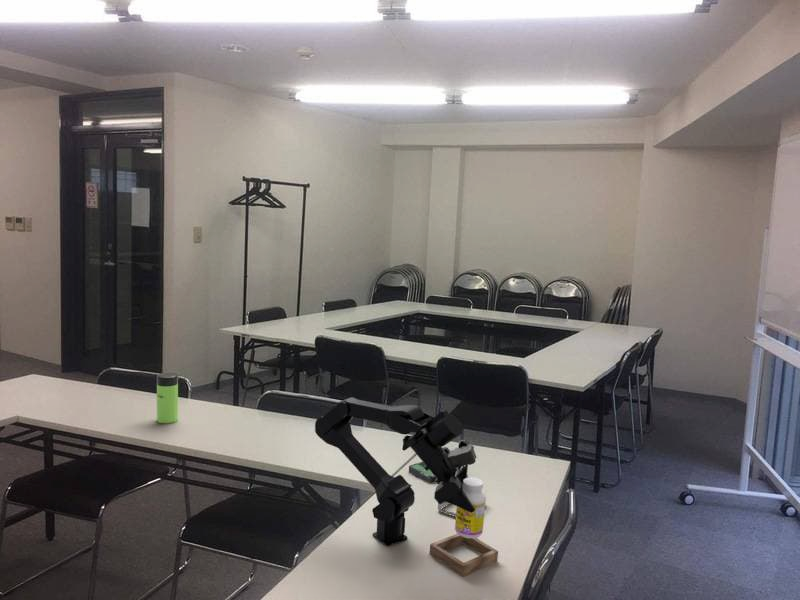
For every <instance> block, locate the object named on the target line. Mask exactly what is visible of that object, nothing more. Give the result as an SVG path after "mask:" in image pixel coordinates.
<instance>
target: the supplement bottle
mask: <svg viewBox="0 0 800 600" xmlns="http://www.w3.org/2000/svg"><path fill="white" fill-rule="evenodd" d="M463 482H464V486H463V491H464V493H465V494H466V496H467V497H468V499H469V500H470V502H471V504H472V505H473V507H474V509H475V511H473V512H472V513H471V512H469V511H466V510H464V509H462V508H460V507H458V506H456V510H455V511H456V513H455V514H456V517H455V523H454V530H455V532H456V534H458V535H460V536H462V537H465V538H477V539H478V538H479V537H480V536H482V535H483V532H484V523H485V522H484V521H485V510H486V502H487V501H486V500H487V495H486V494H485V492H484V491H483V487H484V482H483V481H482V480H481V479H480V478H477V477H468V478H465V479H464V480H463Z"/></svg>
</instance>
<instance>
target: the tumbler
mask: <svg viewBox="0 0 800 600" xmlns="http://www.w3.org/2000/svg"><path fill="white" fill-rule="evenodd" d="M178 381H179V374H178V373H176V372H175V373H174V372H161V373H158V374H157V375H156V421H157V423H158V424H159V423H160V424H174V423H176V422H177V421H178V420H179V414H178V413H179V382H178Z"/></svg>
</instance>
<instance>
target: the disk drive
mask: <svg viewBox="0 0 800 600" xmlns="http://www.w3.org/2000/svg"><path fill="white" fill-rule="evenodd" d="M424 467H425V464H424V463H423V461H421V462H418V463H413V464H411V465H409V466H408V473H409V474H411V475H413V476H415V477H417V478H419V479H420V480H422V481H425V482H426V483H428V482H429V484H433V482H434V483H436V482H435V481H436V477H435V476H434V475H433V473H432V472H431V471H430V470H428V471H426V470H425V468H424ZM462 467H464V466H462Z"/></svg>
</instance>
